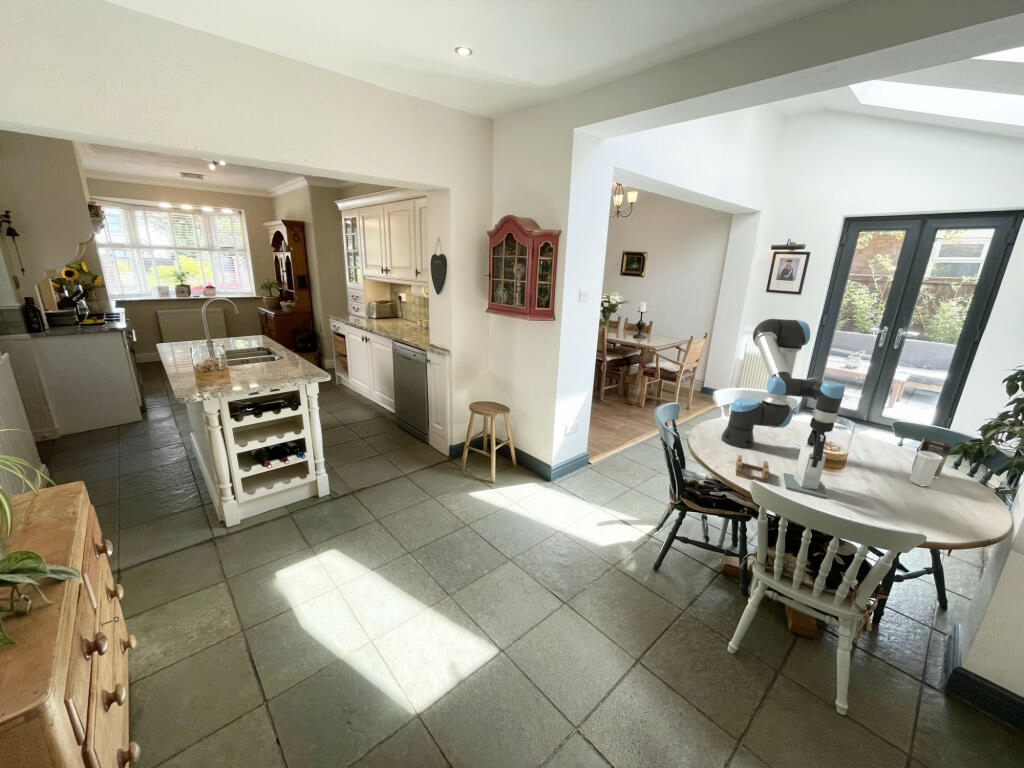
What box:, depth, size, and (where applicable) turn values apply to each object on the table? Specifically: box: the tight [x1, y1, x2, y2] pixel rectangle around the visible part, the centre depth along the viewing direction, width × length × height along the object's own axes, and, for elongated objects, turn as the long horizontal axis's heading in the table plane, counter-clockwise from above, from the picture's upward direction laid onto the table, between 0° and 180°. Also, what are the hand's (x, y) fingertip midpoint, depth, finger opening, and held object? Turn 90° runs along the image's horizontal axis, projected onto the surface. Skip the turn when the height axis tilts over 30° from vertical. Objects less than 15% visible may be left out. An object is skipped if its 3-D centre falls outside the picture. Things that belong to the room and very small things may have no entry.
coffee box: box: [911, 437, 952, 478], centre depth 190 cm, size 9×6×16 cm
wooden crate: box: [735, 454, 770, 484], centre depth 184 cm, size 12×12×5 cm
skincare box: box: [793, 446, 827, 489], centre depth 174 cm, size 8×7×16 cm
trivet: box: [782, 472, 828, 500], centre depth 176 cm, size 14×14×1 cm
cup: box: [909, 450, 943, 486], centre depth 181 cm, size 8×8×14 cm
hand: (809, 466), depth 174 cm, fingers open, 13 cm apart
